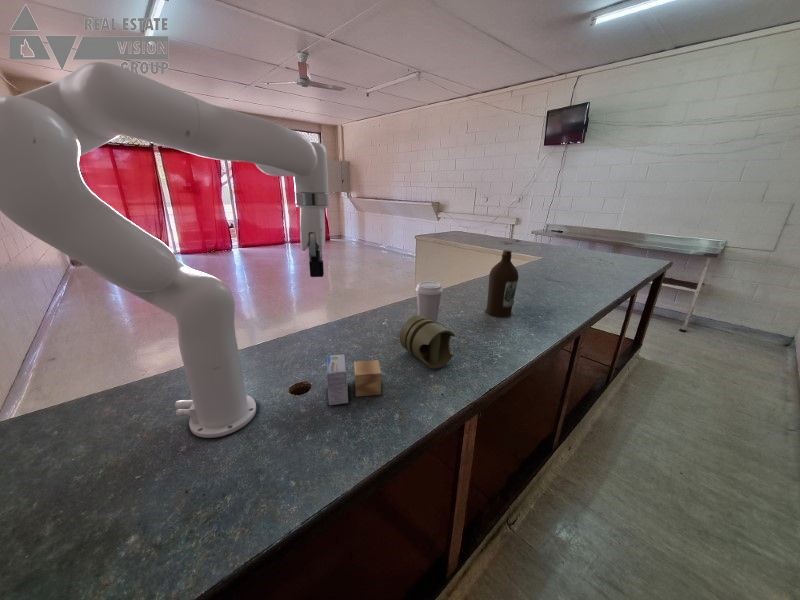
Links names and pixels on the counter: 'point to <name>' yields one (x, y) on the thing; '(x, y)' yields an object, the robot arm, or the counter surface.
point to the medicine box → (337, 379)
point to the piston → (427, 341)
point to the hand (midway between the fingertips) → (317, 276)
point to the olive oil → (502, 287)
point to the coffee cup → (429, 299)
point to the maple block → (367, 378)
